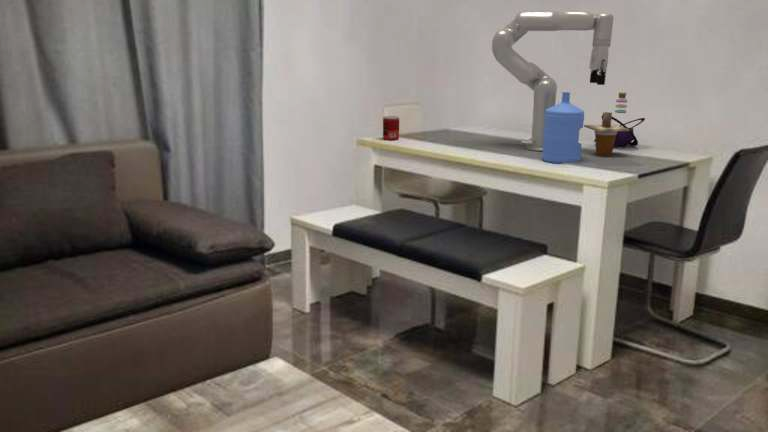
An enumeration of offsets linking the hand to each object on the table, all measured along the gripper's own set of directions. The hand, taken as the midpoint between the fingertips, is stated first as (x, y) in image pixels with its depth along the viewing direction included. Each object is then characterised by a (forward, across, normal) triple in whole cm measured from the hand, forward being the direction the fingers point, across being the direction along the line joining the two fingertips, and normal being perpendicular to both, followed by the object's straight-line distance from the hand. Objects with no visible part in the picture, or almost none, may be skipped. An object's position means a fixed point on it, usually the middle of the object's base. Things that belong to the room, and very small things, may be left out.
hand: (597, 83), depth 315 cm
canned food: (+33, -34, -87) cm, 99 cm away
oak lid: (+18, +12, +2) cm, 22 cm away
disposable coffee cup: (+30, +12, +2) cm, 33 cm away
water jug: (+31, +23, -19) cm, 43 cm away
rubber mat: (+30, +30, 0) cm, 43 cm away
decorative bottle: (+30, -16, +18) cm, 39 cm away
